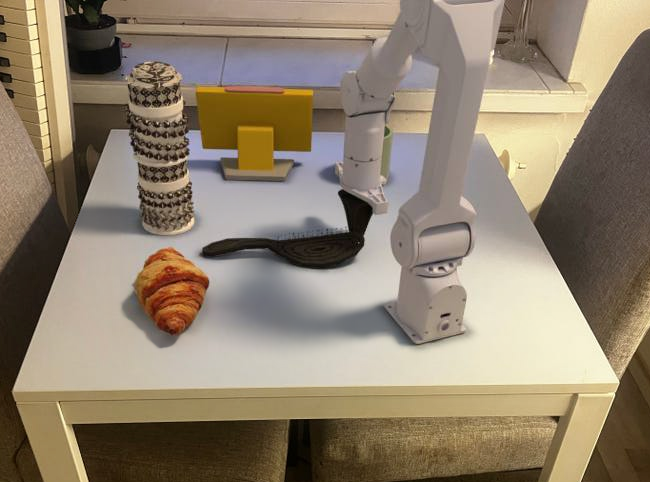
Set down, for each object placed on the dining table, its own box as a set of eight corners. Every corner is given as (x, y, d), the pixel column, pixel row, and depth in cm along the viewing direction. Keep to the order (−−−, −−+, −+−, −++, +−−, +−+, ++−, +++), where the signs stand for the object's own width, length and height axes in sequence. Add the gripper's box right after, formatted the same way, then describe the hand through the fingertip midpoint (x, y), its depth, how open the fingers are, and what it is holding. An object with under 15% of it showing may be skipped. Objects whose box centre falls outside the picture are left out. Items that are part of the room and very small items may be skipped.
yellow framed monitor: (310, 163, 144) (313, 79, 134) (310, 182, 138) (313, 95, 128) (204, 160, 144) (198, 75, 134) (199, 179, 137) (193, 92, 127)
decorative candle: (135, 212, 127) (115, 58, 111) (191, 206, 130) (178, 54, 114) (143, 239, 120) (123, 80, 105) (201, 232, 123) (190, 75, 107)
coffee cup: (395, 183, 139) (401, 136, 133) (355, 190, 136) (358, 142, 130) (375, 165, 145) (379, 118, 139) (336, 171, 142) (338, 124, 136)
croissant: (152, 281, 117) (121, 243, 112) (208, 250, 116) (179, 209, 111) (158, 366, 101) (123, 325, 96) (224, 330, 100) (191, 287, 95)
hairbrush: (202, 224, 119) (362, 218, 120) (205, 244, 122) (362, 239, 122) (198, 252, 113) (367, 246, 113) (201, 273, 115) (366, 267, 116)
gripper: (410, 170, 109) (400, 252, 118) (365, 131, 120) (359, 209, 128) (365, 177, 107) (359, 260, 116) (324, 137, 117) (321, 216, 126)
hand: (356, 234), depth 122 cm, fingers closed
